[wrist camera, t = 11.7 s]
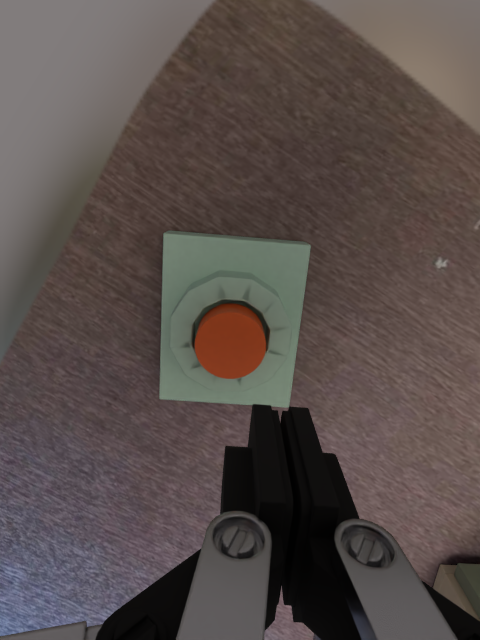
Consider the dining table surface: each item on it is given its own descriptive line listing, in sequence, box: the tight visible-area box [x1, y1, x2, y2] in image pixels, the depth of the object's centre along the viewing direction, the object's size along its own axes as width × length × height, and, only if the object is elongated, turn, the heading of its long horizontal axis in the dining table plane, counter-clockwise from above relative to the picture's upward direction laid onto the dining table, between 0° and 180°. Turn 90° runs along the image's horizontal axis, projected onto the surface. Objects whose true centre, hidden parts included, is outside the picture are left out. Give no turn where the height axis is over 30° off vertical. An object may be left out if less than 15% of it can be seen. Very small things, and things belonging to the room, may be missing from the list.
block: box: [159, 230, 311, 408], centre depth 23 cm, size 10×8×4 cm
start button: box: [195, 303, 266, 379], centre depth 21 cm, size 4×4×2 cm
